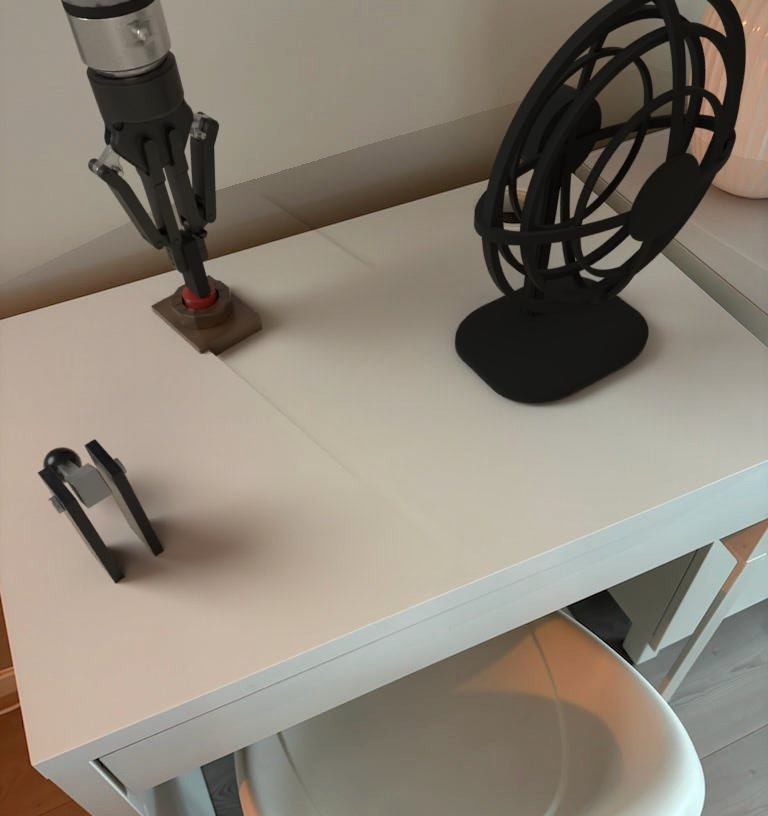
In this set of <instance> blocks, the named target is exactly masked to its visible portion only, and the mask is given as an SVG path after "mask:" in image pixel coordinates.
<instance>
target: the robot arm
mask: <svg viewBox="0 0 768 816" xmlns="http://www.w3.org/2000/svg"><path fill="white" fill-rule="evenodd" d="M60 2H61V4H62V8H63V9H64V13H65V15H66V18H67V21H68V25H69V27H70V30H71V33H72V37H73V39H74V42H75V45H76V48H77V52H78V54H79V57H80V61H82V63H83V64H84V65H85V66H87V69H86V76H87V79H88V82H89V86H90V88H91V91H92V93H93V97H94V100H95V103H96V105H97V108H98V111H99V114H100V115H101V118H102V121H103V124H104V134H103V139H104V143H105V145H106V146H105V148H104V150H103V151H102V153H101V154H100V156H99V157H98V159H97V158H95V157H94V158H91V159H90V160H88V162H87V163H88V164H87V168H88V170H89V171H90V172H91V173H92V174H94V175H95V176H96V177H98V178H99V179H100V180H102V181H103V182H105V183H106V185H107V186H108V188H109V189H110V191H111V192H112V194H113V195H114V197H115V199H116V200H117V201H118V203H119V204H120V206H121V207H122V209H123V210H124V212H125V213H126V215H127V217H128V218H129V220H130V221H131V222H132V224H133V226H134V227H135V229H136V230H137V231H138V234H140V236H141V237H142V239H143V240H145V241H146V242H147V243H148V244H149V245H151V246H152V247H153V248H155V249H156V250H158V251H160V250H163V249H164V248H165V250H166V251H165V252H166V254H167V257H168V260H169V263H170V265H171V266H172V267H173V268H174V269H175V270H176V271H177V272H179V273H180V274H182V278H183V281H184V284H186V287H187V288H188V289H189V290H191V291H192V292H193V293H194V294H195V295H197V296H198V297H199V298H201V297H203V296H205V295H207V294H209V293H210V292H211V289H210V286H209V282H208V279H207V276H208V275H207V273H206V269H205V265H204V262H205V261H207V260H208V259H209V251H208V249H207V245H206V241H205V239H206V238H207V237H208V230H207V229H205V227H206V226H207V225H208V224H213V223H215V222H216V220H217V191H216V159H215V158H216V157H215V155H216V154H215V153H216V152H215V145H216V142H217V138H218V134H219V130H220V124H219V122H218V120H216V119H214V118H213V117H211V116H209V115H208V114H207V113H205V112H202V111H197V112H195V111H193V109H192V107H191V106H190V105H189V104H188V102H187V100H186V99H185V90H184V86H183V83H182V79H181V75H180V71H179V67H178V63H177V59H176V56H175V54H174V53H173V52H172V51H170V49H171V48H172V40H171V37H170V32H169V29H168V25H167V21H166V17H165V13H164V9H163V5H162V1H161V0H60ZM188 141H189V151H190V167H189V163H188V159H187V156H186V148H187V144H188ZM120 158H122V160H124V161H126V162H127V163H129V164H130V165H132V166H133V167H134V169H135V171H136V173H137V175H138V176H139V178H140V180H141V184H142V186H143V191H144V192H145V195H146V199H147V202H148V205H149V207H150V211H151V214H152V217H153V220H154V221H153V220H152V218H151V216H149V213H148V212H147V210H146V208H145V207H144V205H143V204H142V203H141V200H140V199H139V198H138V196H137V194H136V192H134V190H133V188H132V186H131V185H130V184H129V183H128V181H126V179H125V178H123V177H124V175H125V173H124V169H123V166H122V164H121V163H120ZM189 170H190V171H191V172H190V173H191V179H190V176H189ZM166 181H167V184H168V186H169V190H170V193H171V196H172V200H173V203H174V206H175V209H176V210H175V211H176V214H177V216H178V220H179V223H180V225H181V226H182V227H183V228H179V225H178V221H177V218H176V215H175V212H174V208H173V205H172V202H171V199H170V195H169V191H168V188H167V185H166Z"/></svg>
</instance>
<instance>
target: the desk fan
mask: <svg viewBox="0 0 768 816" xmlns="http://www.w3.org/2000/svg"><path fill="white" fill-rule="evenodd" d="M706 1H707V2H708V4H710V5H711V6H712V8H713V9H714V10H715V12H716V13H717V15H718V17H719V19H720V22H721V24H722V26H723V29H724V32H725V35H724V34H723V33H722V32H720V31H718V30H717V29H715V28H713V27H710V26H708V25H705V24H704V23H700V22H696V21H690V20H689V19H688V18H686V17H685V16H684V15H683V14H681V13H680V10H679V6H678V4H677V2H676V0H610V1H609V2H608V3H606V4H605V5H603V6H602V7H601V8H600V9H599V10H597V11H596V12H594V14H592V15H591V16H590V17H589V18H588V19H586V21H584V22H583V23H582V24H581V25H580V26H579V27H578V28H577V29H576V30H575V31H574V32H573V33H572V34H571V35H570V36H569V37H568V39H567V40H566V41H565V42H564V43H563V44H562V45H561V46H560V47H559V48H558V50H557V51H556V52H555V53H554V54H553V55H552V57H551V58H550V59H549V61H548V62H547V63H546V65H545V66H544V68H542V70H541V71H540V73H539V74H538V76H537V77H536V79H535V80H534V82H533V83H532V85H531V86H530V88H529V90H528V91H527V92H526V94H525V95H524V97H523V99H522V101H521V103H520V104H519V106H518V108H517V110H516V112H515V113H514V115H513V117H512V119H511V121H510V124H509V126H508V127H507V130H506V132H505V134H504V136H503V138H502V140H501V143H500V146H499V149H498V151H497V153H496V156H495V159H494V162H493V165H492V168H491V171H490V174H489V179H488V182H487V186H486V190H484V192H483V193H482V194H481V196H480V197H479V198H478V200H477V202H476V204H475V206H474V213H473V228H474V230H475V232H476V234H477V235H478V236H479V237H481V247H482V253H483V258H484V263H485V267H486V269H487V271H488V274H489V276H490V279H491V280H492V282H493V284H494V285H495V287H496V288H497V289H498V290H499V291H500V292H501V293H502V294H503V295H502V296H501V297H498V298H496V299H493V300H492V301H490V302H488V303H487V302H486V303H485V304H482V305H481V306H479V307H477V308H476V309H474V310H473V311H471V312H470V313H469V314H467V315H466V316H465V317H464V318H463V320H462V321H461V322H460V323H459V324H458V326H457V329H456V332H455V334H454V335H455V336H454V349H455V352H456V353H457V356H458V357H459V358H460V359H461V361H462V362H463V363H464V364H466V365H467V366H468V367H469V368H470V369H471V370H472V371H473V372H474V373H475V374H476V375H477V376H478V377H479V378H480V379H481V380H482V381H483V382H484V383H485V384H486V385H487V386H488V387H489V388H490V389H491V390H493V392H495V393H496V394H498V395H500V396H501V397H503V398H505V399H508V400H509V401H514V402H519V403H523V404H524V403H526V404H543V403H550V402H555V401H558V400H561V399H565V398H567V397H569V396H572V395H573V394H576V393H578V392H580V391H581V390H584V389H585V388H587V387H589V386H591V385H593V384H594V383H597V382H598V381H601V380H602V379H604V378H606V377H608V376H610V375H612V374H614V373H615V372H617V371H619V370H621V369H623V368H625V367H627V366H628V365H629V364H631V363H633V361H635V360H636V359H637V358H638V357H639V356H640V355H641V353H643V351H644V350H645V347H646V344H647V343H648V338H649V334H650V333H649V332H650V330H649V325H648V322H647V320H646V318H645V317H644V315H642V313H641V312H639V311H638V309H636V308H634V307H633V306H632V305H631V304H629V303H628V302H627V301H625V300H624V299H622V298H621V297H620V296H619V294H620V293H621V292H623V291H624V289H625V288H626V287H627V286H628V285H629V284H630V283H631V281H632V280H633V279H634V277H635V276H636V275H637V274H639V273H640V272H641V271H642V270H643V269H645V268H646V267H647V266H649V264H651V263H652V262H653V261H654V259H656V258H657V257H658V256H659V255H660V254H661V253H662V252H663V251H664V250H665V248H667V246H668V245H669V244H670V243H671V242H672V241H673V240H674V238H676V236H677V235H678V234H679V233H680V231H681V230H682V229H683V228H684V226H685V225H686V224H687V223H688V221H689V220H690V219H691V217H692V216H693V214H694V213H695V211H696V210H697V208H698V207H699V205H700V204H701V202H702V201H703V199H704V197H705V196H706V195H707V192H708V190H709V189H710V187H711V185H712V183H713V181H714V179H715V178H716V176H717V174H718V173H720V171H721V170H722V169H723V168H724V167H725V165H726V164H727V163H728V161H729V159H730V157H731V156H732V152H733V150H734V146H735V144H736V140H737V132H736V130H735V128H736V124H737V121H738V116H739V112H740V106H741V101H742V99H741V98H742V93H743V88H744V81H745V75H746V66H747V65H746V64H747V45H746V35H745V29H744V26H743V25H744V24H743V22H742V19H741V16H740V13H739V11H738V9H737V7H736V6H735V4H734V3H733V0H706ZM650 3H651V4H650ZM652 3H653V4H652ZM649 19H654V20H655V19H656V20H657V19H658V20H663V24H664V25H662V26H660V27H658V28H656V29H655V28H654V29H653V30H651V31H649V32H647V33H645V34H643V35H641V36H640V37H638V38H637V39H635V40H633V41H632V42H631V43H629V44H627V46H625V47H620V46H604V44H605V42H606V40H607V37H608V36H609V34H610V33H612V32H614V31H615V30H617V29H620V28H622V27H624V26H626V25H628V24H632V23H634V22H638V21H642V20H649ZM701 38H704V39H706V40H708V41H709V42H711V44H712V45H713V46H714V47H715V48H716V50H717V51H718V53H719V55H720V58H721V59H722V62H723V66H724V70H725V71H724V72H725V78H726V80H725V81H726V84H725V90H724V94H723V101H722V102H721V101H720V98H718V96H717V95H716V94H715V93H713V92H711V91H710V90H708V89H705V88H706V77H707V75H706V74H707V73H706V72H707V71H706V70H707V69H706V68H707V67H706V57H705V50H704V46H703V43H702V40H701ZM665 43H669V50H670V59H671V74H672V75H671V78H672V80H671V81H672V88H671V89H669V90H667V91H664V92H663V93H661V94H659V95H658V96H656V97H654V88H653V87H654V86H653V81H652V80H653V79H652V75H651V73H650V70H649V67H648V66H647V63H646V62H645V61H644V60H643V59H642V56H644V55H645V54H646V53H648V52H650V51H652V50H653V49H656V48H657V47H659V46H661V45H663V44H665ZM603 46H604V47H603ZM686 47H687V50H688V53H689V59H690V67H691V82H690V83H691V84H690V85H687V55H686V53H687V52H686ZM587 50H588V52H587V53H585V52H586V51H587ZM584 53H585V54H584ZM581 55H582V56H581ZM608 57H611V58H610V59H609V60H608V61H606V63H605V64H604V65H603V66H602V67H601V68H600V69H599V70H598V71H597V72H596V73H595V74H594V75H593V72H594V69H595V67H596V63H597V61H598V60H600V59H603V58H608ZM632 63H633V64H634V66H636V69H637V70H638V72H639V74H640V78H641V81H642V86H643V87H642V88H643V105H642V107H640V108H639V109H638V110H637V111H636V112H635V113H634V114H633V115H632V116H630V117H629V119H628V120H627V121H623V122H620V123H616V124H613V125H609V126H605V127H602V123H603V122H602V120H603V116H602V114H603V113H602V108H601V105H600V103H599V102H598V100H597V99H596V98H597V97H598V96H599V95H600V94H601V92H602V91H603V90H604V89H605V88H606V87H607V86H608V84H610V83H611V82H612V81H613V80H614V79H615V78H616V77H617V76H618V75H619V74H620V73H622V72H623V71H624V70H625V69H626V68H627V67H629V66H630V65H631V64H632ZM580 70H581V72H580V74H579V75H580V76H579V79H578V82H577V86H576V88H575V87H574V86H571V85H569V84H567V83H565V82H567V81H568V80H569V79H570V78H571V77H573V76H574V75H575V74H576V73H577V72H579V71H580ZM592 75H593V76H592ZM686 97H689V100H688V105H687V109H685V107H686ZM704 99H705V100H706V101H707V102H708V103H709V105H710V107H711V109H712V112H713V115H709V114H702V113H701V110H702V106H703V101H704ZM668 103H671V114H663V115H662V114H661V115H655V116H652V114H653V113H654V112H656V111H657V110H658V109H660V108H662V107H663V106H665V105H667V104H668ZM685 110H686V113H685ZM664 128H669V135H668V143H667V150H666V156H665V161H664V162H663V163H661V164H660V165H659V166H657V168H656V169H654V171H653V172H652V173H651V174H650V175H649V176H648V178H647V179H646V180H645V181H644V182H643V184H642V186H641V187H640V189H639V191H638V192H637V194H636V196H635V198H634V200H633V202H632V205H631V208H630V210H628V211H625V212H621V213H619V214H616V215H612V216H610V217H606V218H603V219H599V220H595V221H591V222H587V223H584V222H583V221H584V220H585V219H587V218H588V217H589V216H591V215H592V214H594V212H596V211H597V210H598V209H599V208H600V207H601V206H602V205H604V203H605V202H606V201H607V200H608V199H609V198H610V197H611V196H612V194H613V193H614V192H615V191H616V190H617V188H618V187H619V185H620V184H621V183H622V182H623V180H624V179H625V177H626V176H627V174H628V173H629V171H630V169H631V168H632V166H633V164H634V162H635V160H636V158H637V156H638V155H639V152H640V150H641V148H642V145H643V143H644V141H645V138H646V136H647V132H648V130H654V129H655V130H656V129H664ZM696 128H697V129H702V130H705V131H710V132H712V136H711V138H710V140H709V143H708V145H707V148H706V150H705V152H704V155H703V157H702V159H701V161H700V162H699V161H698V159H697V157H696V156H695V155H693V154H692V153H688V152H687V151H688V149H689V146H690V144H691V142H692V139H693V136H694V133H695V132H696V131H695V130H696ZM636 132H637V133H636ZM632 133H636V135H635V138H634V141H633V142H632V146H631V147H630V148H631V149H630V150H629V152H628V154H627V156H626V158H625V160H624V162H623V163H622V165H621V166H620V169H618V171H617V173H616V174H615V176H614V177H613V179H612V180H611V181H610V183H609V184H608V185H607V186H606V188H605V189H604V190H603V191H602V192H601V194H599V195H598V196H597V197H596V198H595V200H593V201H592V202H591V203H590V204H589V200H590V198H591V196H592V193H593V191H594V188H595V186H596V184H597V183H598V181H599V179H600V176H601V175H602V173H603V170H605V168H606V166H607V164H608V163H609V161H610V159H611V158H612V157H613V156H614V154H615V153H616V151H617V150H618V149H619V147H620V146H621V145H622V144H623V142H624V141H625V140H626V139H627V137H628V136H629V135H631V134H632ZM607 139H610V140H609V142H608V143H607V144H606V145H605V148H604V149H603V150H602V152H601V153H600V154H599V156H598V158H597V159H596V161H595V163H594V164H593V167H592V168H591V170H590V172H589V174H588V175H587V178H586V180H585V182H584V184H583V186H582V189H581V191H580V194H579V197H578V199H577V202H576V206H575V209H574V213H573V216H572V217H571V187H572V175H573V173H575V172H576V171H577V170H579V168H580V167H581V166H582V165H583V164H584V163H585V161H586V160H587V159H588V158H589V156H590V154H591V153H592V152H593V149H594V147H595V145H596V143H597V142H601V141H604V140H607ZM521 161H522V162H521ZM532 170H533V172H532V175H531V178H530V181H529V184H528V186H527V190H526V193H525V197H524V200H523V206H522V208H521V206H520V202H519V196H518V179H519V178H521V177H522V176H523V175H525V174H527V173H528V172H530V171H532ZM506 188H507V189H506ZM506 190H507V191H508V198H509V199H508V200H509V203H510V205H511V209H512V211H513V214H515V216H516V218H517V219H518V220H519V221H520V223H519V230H511V229H506V228H505V224H504V223H505V222H504V204H505V197H506V196H505V194H506ZM588 204H589V205H588ZM558 206H559V222H556V219H557V211H558ZM583 223H584V224H583ZM618 228H619V229H618ZM614 229H617V231H616V232H614V234H613V235H612V236H610V237H609V238H608V239H607V240H605V241H604V242H603V243H602V244H601V245H599V246H598V247H596V248H595V249H593V250H592V251H591V252H589V253H588V254H586V255H584V253H583V247H582V238H587V237H590V236H593V235H597V234H601V233H604V232H607V231H611V230H614ZM629 236H630V237H631V239H633V240H635V241H636V242H641V244H640V247H639V248H638V250H636V251H635V252H634V253H633V254H632V255H631V256H630V257H629V258H627V259H626V260H625V261H624V262H623V263H622V264H621V265H619V266H616V267H612V268H605V269H602V268H596V267H593V265H595V264H596V263H598V262H599V261H601V260H602V259H604V258H605V257H606V256H608V255H609V254H610V253H612V252H613V251H614V250H615V249H616V248H618V247H619V246H620V245H621V244H622V243H623V242H624V241H626V239H628V238H629ZM557 243H561V249H562V256H563V261H564V265H561V266H558V267H552V268H549V264H550V257H551V250H552V245H553V244H557ZM510 246H515V247H516V246H517V247H519V253H520V258H521V262H520V261H518V259H517V258H516V257H515V256H514V254H513V252H512V251H511V248H510ZM500 255H501V256H500ZM500 257H502V258H503V260H504V261H505V262H506V263H507V264H508V265H509V266H510V267H512V268H513V269H514V271H516V272H518V274H520V275H523V276H524V279H523V286H521V287H520V288H517V289H514V288H513V286H512V285H511V284H510V283H509V281H508V279H507V277H506V275H505V273H504V269H503V267H502V263H501V258H500ZM582 271H586V272H587V273H588V274H589V275H592V276H594V277H596V278H601V279H600V280H598V281H597V280H595V279H593V278H590V277H585V276H582V275H581V272H582Z"/></svg>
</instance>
